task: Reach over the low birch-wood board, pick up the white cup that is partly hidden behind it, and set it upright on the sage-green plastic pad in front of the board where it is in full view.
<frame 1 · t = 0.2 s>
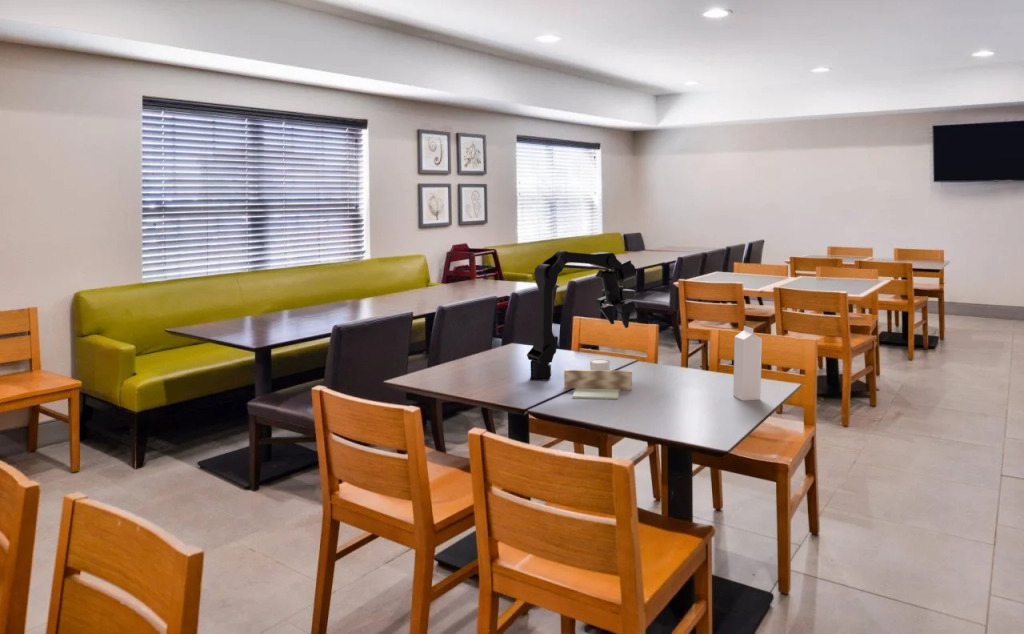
hand: (619, 325, 267), 15 cm above the table, tool pointing down, fingers open, 9 cm apart
pad: (596, 394, 231), on the table
board: (598, 388, 238), on the table
white cup: (600, 381, 248), on the table
milk: (746, 398, 223), on the table
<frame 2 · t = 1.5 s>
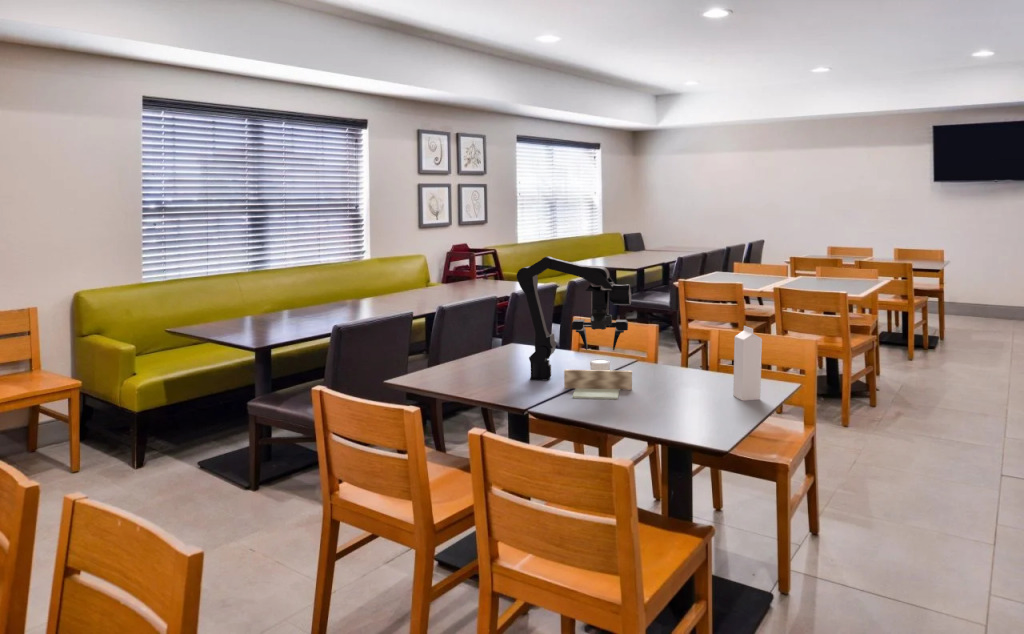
hand: (600, 349, 246), 11 cm above the table, tool pointing down, fingers open, 9 cm apart
nothing on the table moved.
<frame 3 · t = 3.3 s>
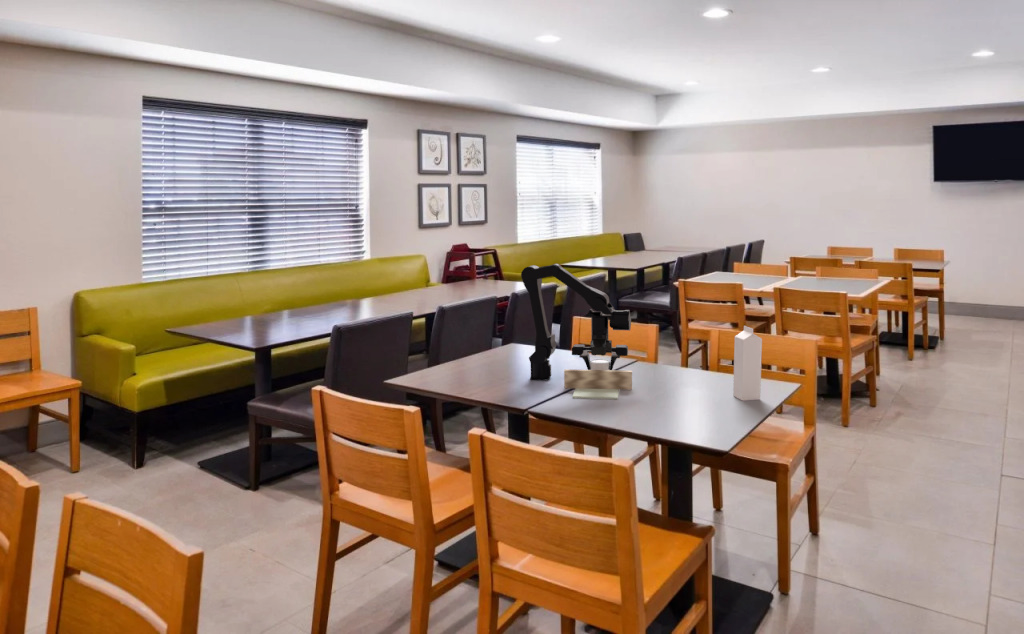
hand: (600, 374, 248), 2 cm above the table, tool pointing down, fingers closed on white cup, 6 cm apart
white cup: (600, 381, 248), on the table, touching gripper
everything else where it was.
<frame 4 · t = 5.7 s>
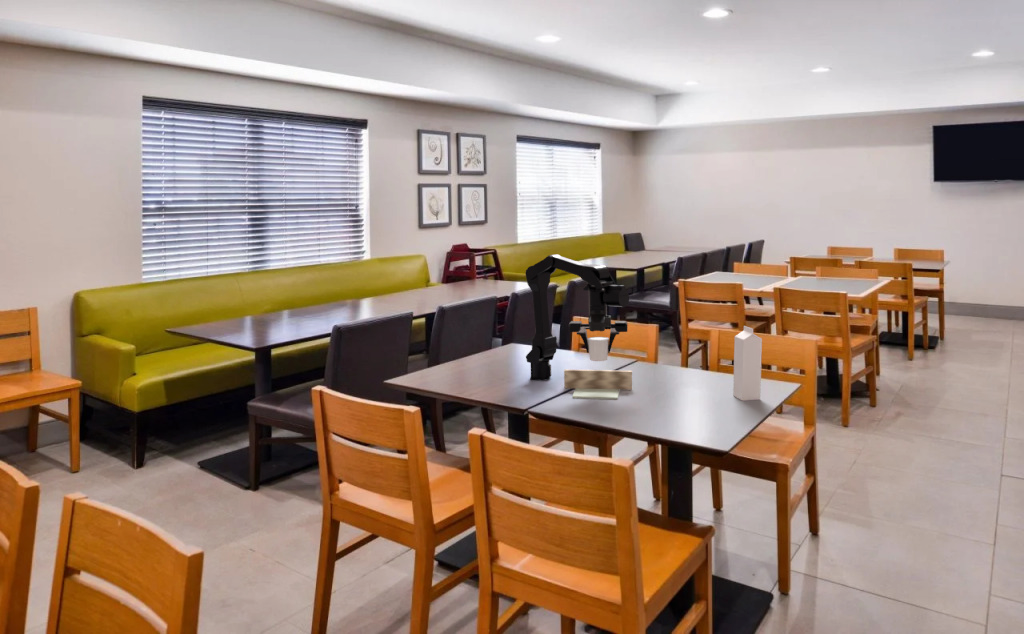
hand: (598, 352, 235), 12 cm above the table, tool pointing down, fingers closed on white cup, 6 cm apart
white cup: (598, 360, 235), point 10 cm above the table, touching gripper
everything else where it was.
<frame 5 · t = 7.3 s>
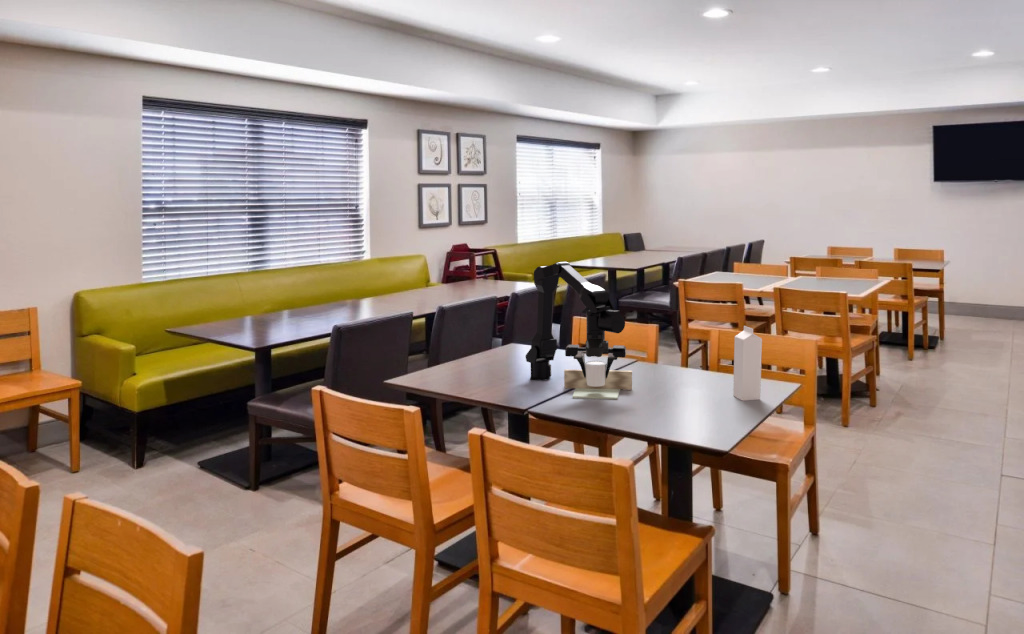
hand: (595, 377, 230), 6 cm above the table, tool pointing down, fingers closed on white cup, 6 cm apart
white cup: (595, 384, 230), point 3 cm above the table, touching gripper
everything else where it was.
when the fingers open (4 cm above the table, at t = 8.5 s): white cup drops 1 cm, resting on pad.
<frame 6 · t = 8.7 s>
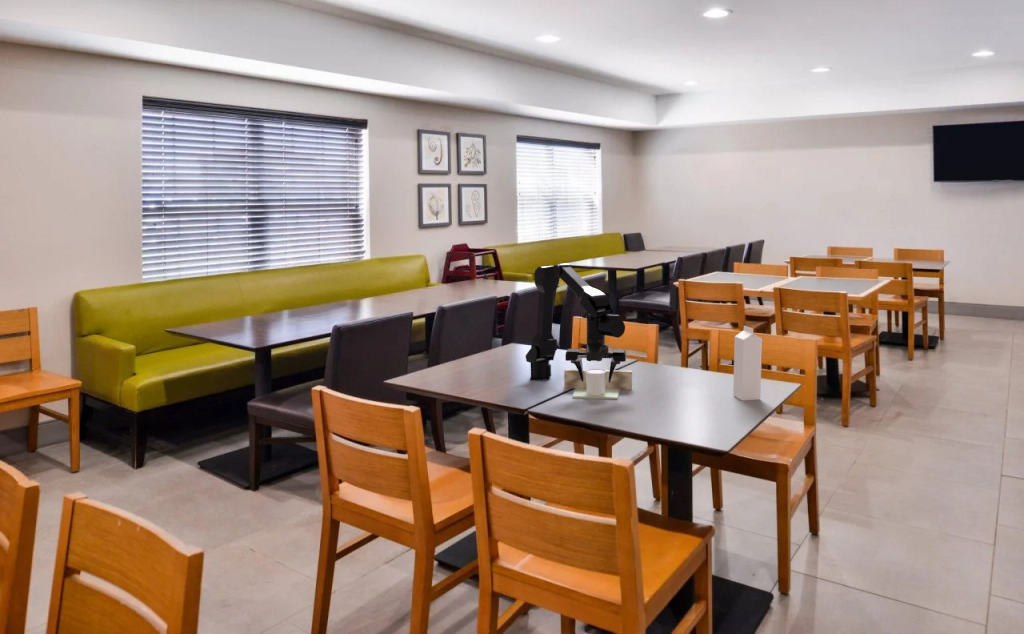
hand: (596, 381, 230), 4 cm above the table, tool pointing down, fingers open, 8 cm apart
white cup: (595, 393, 231), resting on pad
everything else where it was.
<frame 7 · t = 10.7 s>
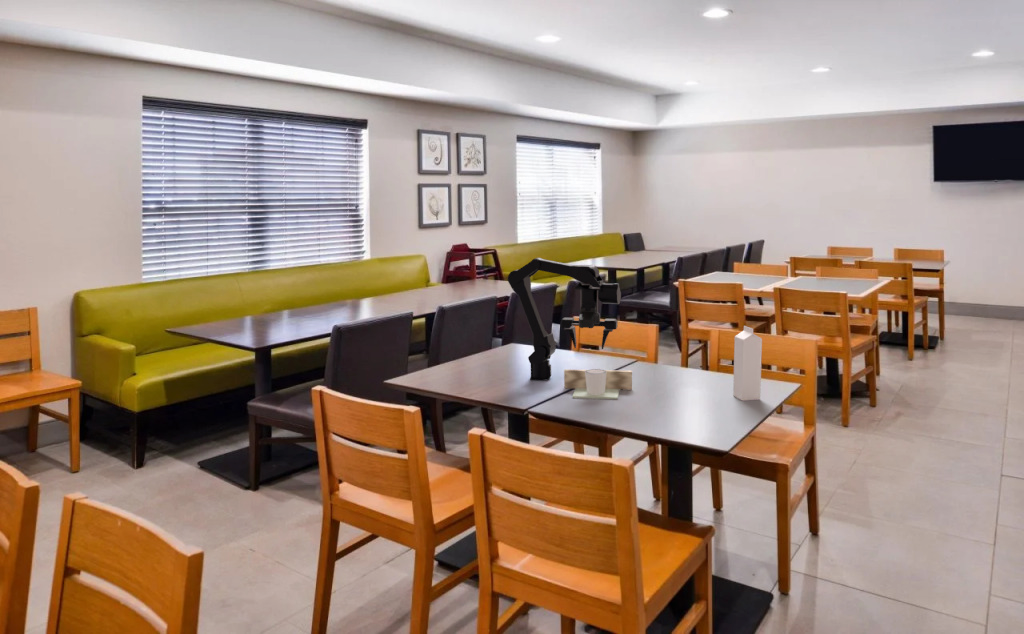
hand: (588, 348, 246), 12 cm above the table, tool pointing down, fingers open, 9 cm apart
nothing on the table moved.
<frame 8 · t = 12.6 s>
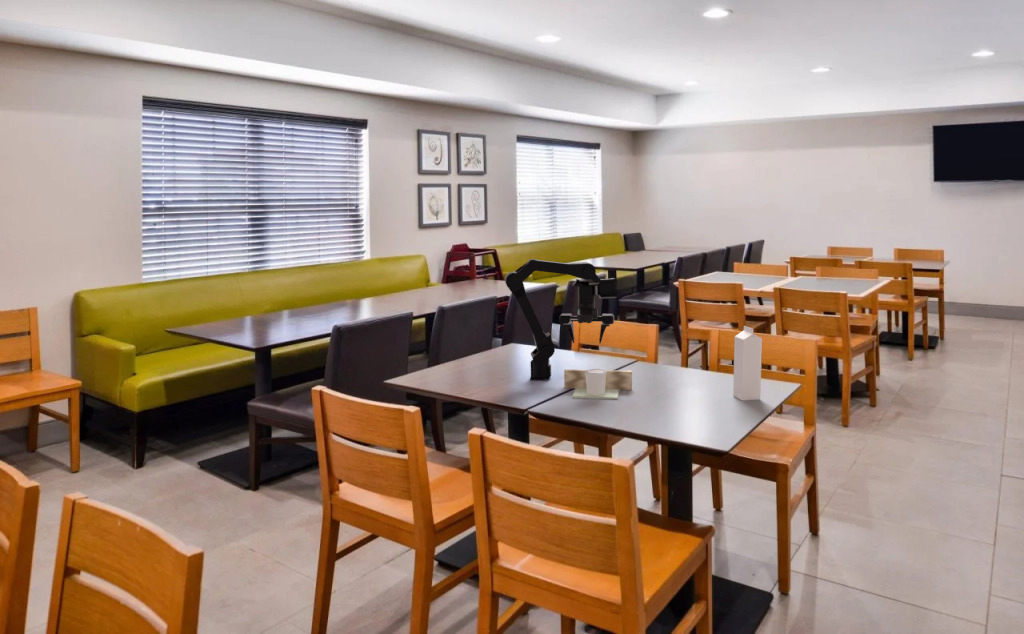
hand: (586, 343, 253), 12 cm above the table, tool pointing down, fingers open, 9 cm apart
nothing on the table moved.
at the end: white cup inside the target area on the pad (0.1 cm from its centre), point 0.4 cm above the pad's base; white cup tilted 0°; the gripper is holding nothing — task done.
